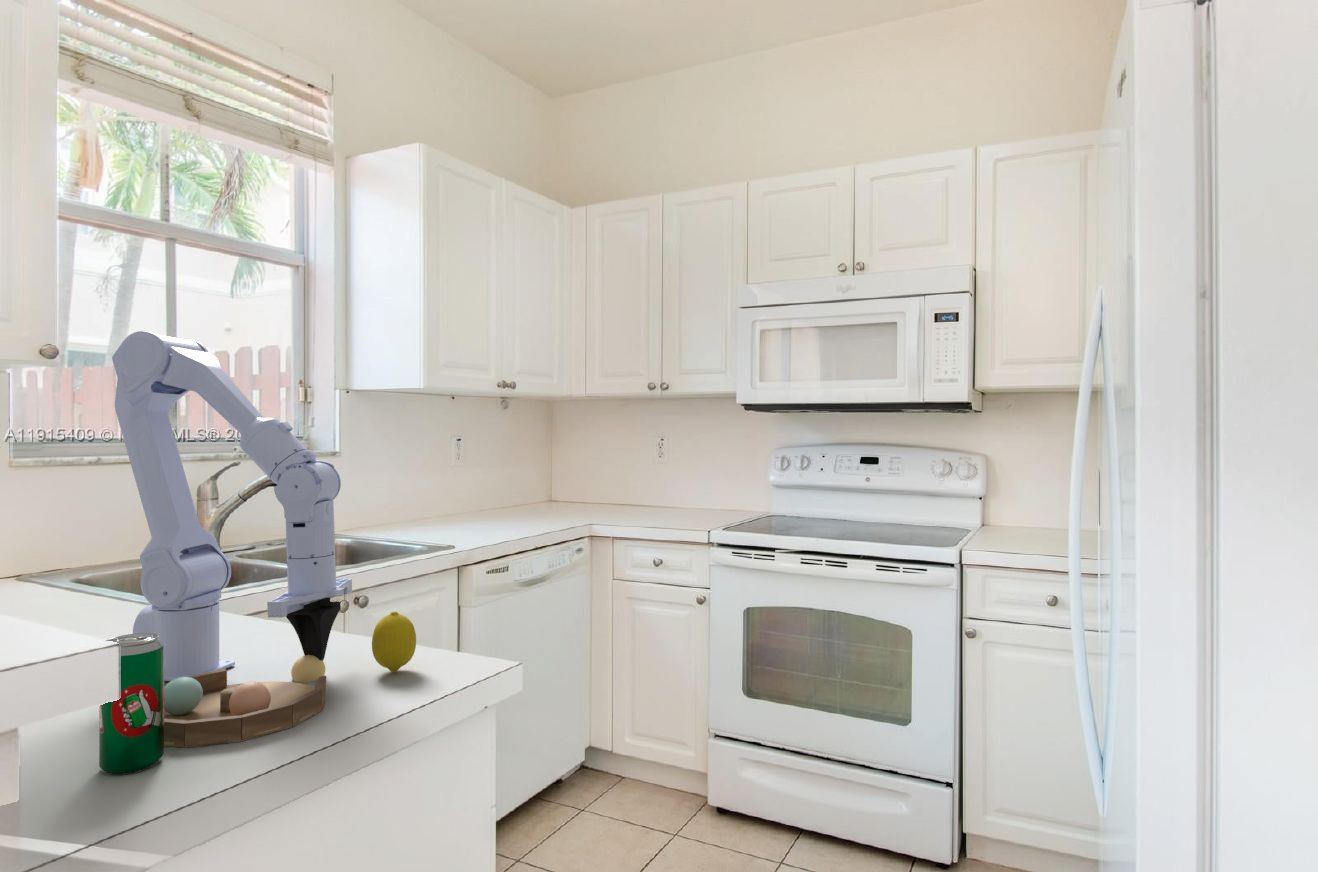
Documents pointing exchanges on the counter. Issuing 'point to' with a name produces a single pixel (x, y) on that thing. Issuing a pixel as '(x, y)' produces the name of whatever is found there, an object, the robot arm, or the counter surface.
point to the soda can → (135, 708)
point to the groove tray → (220, 726)
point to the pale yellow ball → (307, 669)
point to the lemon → (393, 641)
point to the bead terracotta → (249, 698)
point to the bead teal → (182, 695)
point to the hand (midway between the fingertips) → (314, 660)
